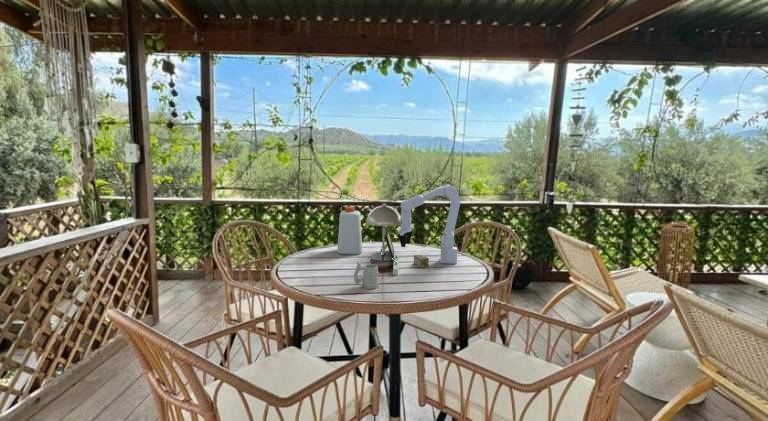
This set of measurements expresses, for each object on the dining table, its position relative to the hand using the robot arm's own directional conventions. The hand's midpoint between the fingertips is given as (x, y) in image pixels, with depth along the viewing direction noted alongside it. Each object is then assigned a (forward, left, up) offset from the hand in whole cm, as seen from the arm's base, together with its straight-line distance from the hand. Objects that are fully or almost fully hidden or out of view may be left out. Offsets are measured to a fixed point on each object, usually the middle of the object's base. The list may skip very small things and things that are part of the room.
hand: (405, 245), depth 214 cm
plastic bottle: (+34, -17, -10) cm, 40 cm away
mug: (+18, +41, -10) cm, 46 cm away
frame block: (-9, +6, -10) cm, 14 cm away
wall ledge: (+5, +10, -10) cm, 15 cm away
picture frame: (+11, -12, -10) cm, 20 cm away
